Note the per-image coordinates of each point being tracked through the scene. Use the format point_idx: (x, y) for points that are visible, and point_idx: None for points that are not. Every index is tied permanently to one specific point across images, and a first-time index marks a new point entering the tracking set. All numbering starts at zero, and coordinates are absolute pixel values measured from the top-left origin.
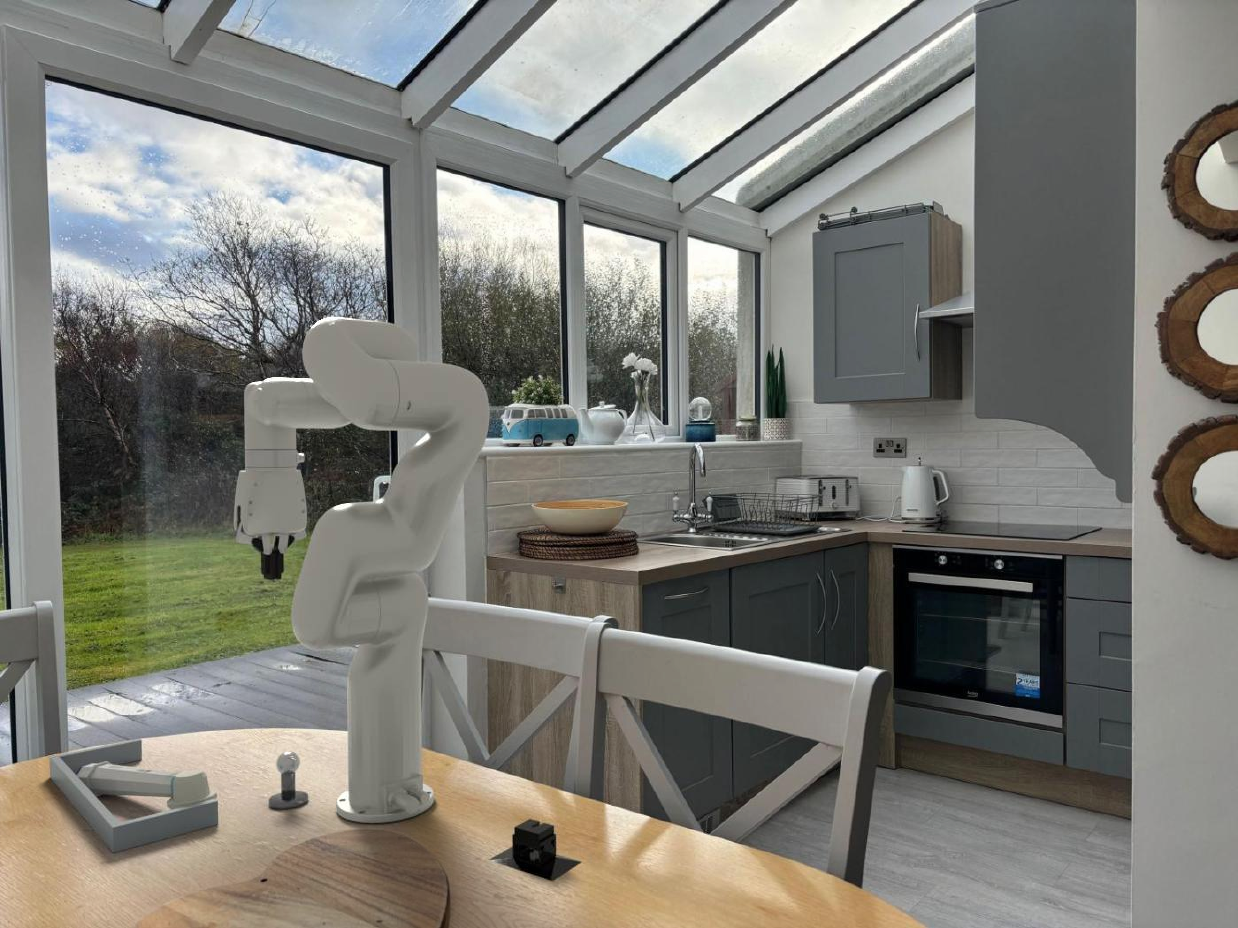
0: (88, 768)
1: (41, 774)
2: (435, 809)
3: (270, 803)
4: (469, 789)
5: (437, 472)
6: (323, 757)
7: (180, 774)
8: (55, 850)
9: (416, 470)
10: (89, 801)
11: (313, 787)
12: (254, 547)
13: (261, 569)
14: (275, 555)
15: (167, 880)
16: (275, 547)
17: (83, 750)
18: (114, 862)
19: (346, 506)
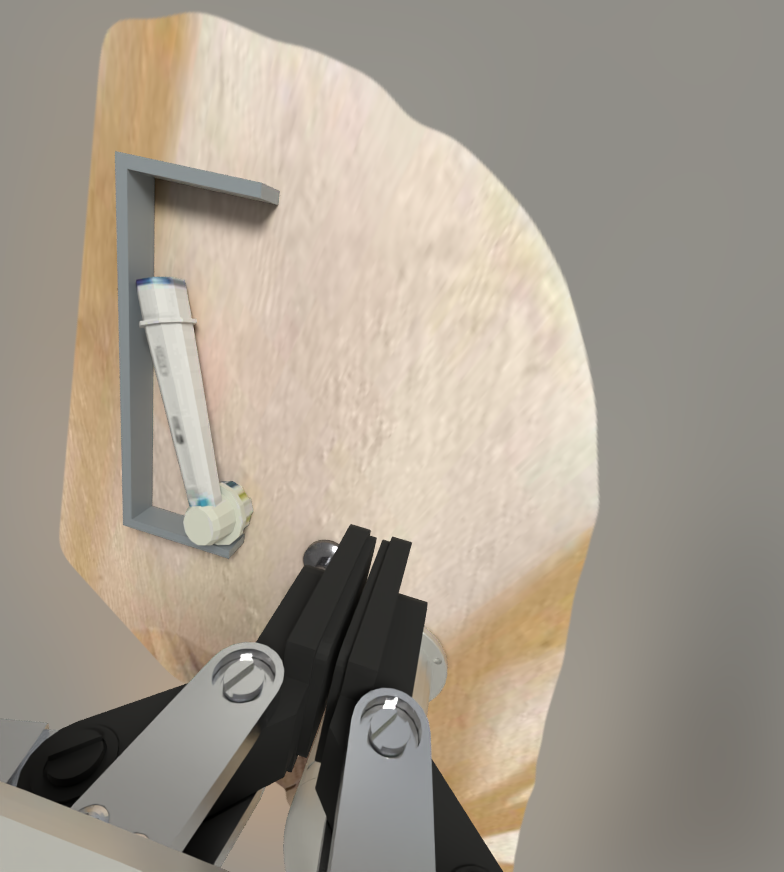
0: (141, 306)
1: (136, 128)
2: None
3: (304, 557)
4: (483, 706)
5: None
6: (469, 473)
7: (191, 516)
8: (103, 455)
9: None
10: (121, 428)
11: (377, 551)
12: (144, 708)
13: (298, 581)
14: (318, 747)
15: (163, 599)
16: (335, 780)
17: (166, 166)
18: (139, 530)
19: None
